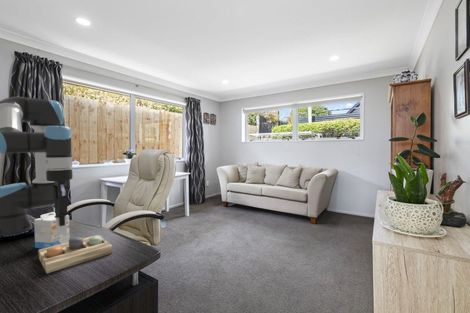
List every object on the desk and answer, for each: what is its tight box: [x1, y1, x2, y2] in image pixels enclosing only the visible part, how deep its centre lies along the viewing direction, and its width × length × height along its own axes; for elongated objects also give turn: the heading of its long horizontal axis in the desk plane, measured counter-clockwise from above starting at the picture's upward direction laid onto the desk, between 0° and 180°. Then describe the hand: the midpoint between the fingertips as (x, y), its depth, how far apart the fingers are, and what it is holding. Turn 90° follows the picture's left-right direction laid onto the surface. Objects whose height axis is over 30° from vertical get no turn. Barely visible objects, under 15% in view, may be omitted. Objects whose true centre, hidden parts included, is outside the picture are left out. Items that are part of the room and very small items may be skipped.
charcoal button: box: [69, 236, 84, 250], centre depth 88 cm, size 4×4×3 cm
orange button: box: [47, 246, 62, 258], centre depth 83 cm, size 4×4×3 cm
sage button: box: [89, 235, 103, 247], centre depth 93 cm, size 4×4×3 cm
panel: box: [38, 234, 113, 274], centre depth 88 cm, size 16×20×3 cm
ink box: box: [33, 211, 71, 249], centre depth 98 cm, size 9×8×13 cm
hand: (61, 233), depth 84 cm, fingers closed
